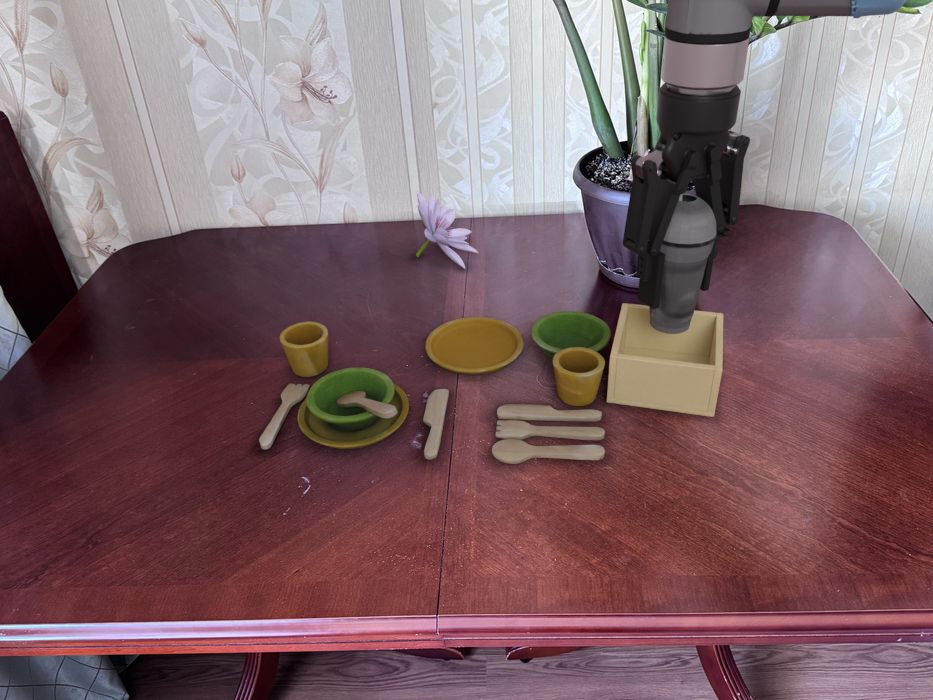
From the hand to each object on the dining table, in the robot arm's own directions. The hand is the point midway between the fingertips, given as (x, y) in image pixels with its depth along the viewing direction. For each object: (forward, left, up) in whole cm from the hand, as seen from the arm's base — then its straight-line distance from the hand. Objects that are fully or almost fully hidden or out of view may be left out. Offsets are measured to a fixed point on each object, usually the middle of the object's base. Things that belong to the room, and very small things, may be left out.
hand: (673, 293), depth 82 cm
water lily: (+36, -26, -12) cm, 46 cm away
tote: (0, 0, -12) cm, 12 cm away
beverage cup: (0, 0, -4) cm, 4 cm away
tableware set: (+26, +7, -12) cm, 30 cm away
